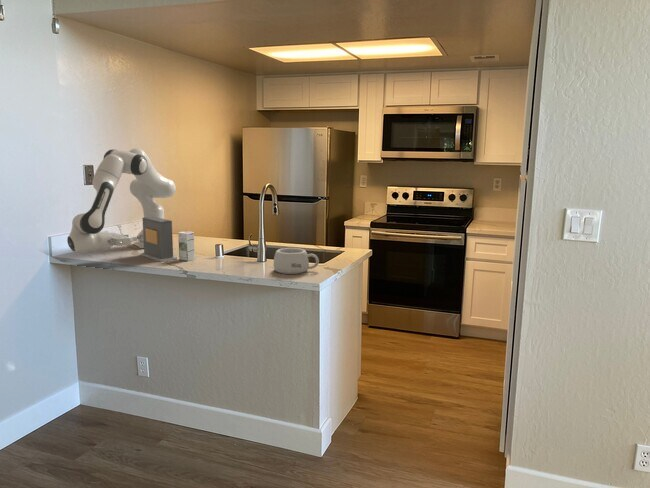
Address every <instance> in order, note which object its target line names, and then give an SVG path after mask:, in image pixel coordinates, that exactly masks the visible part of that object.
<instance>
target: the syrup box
mask: <svg viewBox="0 0 650 488" xmlns="http://www.w3.org/2000/svg"><path fill="white" fill-rule="evenodd" d="M177 235H178V254H179V255H178V257H179V259H178V260H179V261H185V262H190V261H193V260H195V259H196V258H195V257H196V256H195V232H194V231H187V230H182V231H180V232H179V231H178V232H177Z"/></svg>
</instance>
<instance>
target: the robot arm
mask: <svg viewBox="0 0 650 488" xmlns="http://www.w3.org/2000/svg"><path fill="white" fill-rule="evenodd" d="M122 174H128V175H133V176H134V179H132V181H131V182H130V183H129V191H130V193H131V195H132V196H133V197H135V198H136V199H137V200H138V202H139V203H140V204H141V207H142V212H143V218H145V217H157V218H161V219H165V210H164V207H163V206H162V205H161V204H159V203H157V202H156V200H155V199H165V198H170V197H173V196H174V195H175V193H176V190H177V187H176V184H175V181H173V180H172V179H169V178H167V177H165V176H164V175H162V174H160V172H158V171H157V170H156V168H155V167H154V165H153V163H152V160H151V159H150V158H149V156H148V155H147V153H146V152H145V151H144V150H143V149H142V148H137V147H136V148H132V149H130V150H128V151H125V150H118V149H109V150H108V151H106V152H105V153H104V155H103V159H102V160H101V162H100V164H99V165H98V167H97V169H96V171H95V173H94V175H93V179H92V182H91V183H92V186H93V188H94V189H95V190H96V195H95V198H94V200H93V202H92V204H91V207H90V209H88V211H87V212H84V213H80V214H79V213H78V214H77V215H76V216H75V217H74V218H73V219H72V226H71V231H70V233H69V235H68V236H67V237H66V238H67V240H66V241H67V245H68V247H69V248H70V250H71V251H72V252H75V253H88V252H92V251H104V250H110V249H111V248H112V247H113V246H115V247H118V246H119V247H121V246H123V247H124V246H130V245H132V243H133V245H135V246H136V247H138V248H139V249H144V239H143V228H141V231H140V232H139V233H138V234H137V235H136V236H133V237H130V236H129V234H119V233H116V232H109V231H108V230H103V229H104V227H105V219H106V217H105V216H106V213H107V210H108V207H109V204H110V202H111V199H112V197H113V194H114V192H115V190H116V188H117V186H118V184H119V182H120V179H121V177H122Z"/></svg>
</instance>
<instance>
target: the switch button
mask: <svg viewBox="0 0 650 488" xmlns="http://www.w3.org/2000/svg"><path fill="white" fill-rule="evenodd" d="M145 231H146V242H150V243H153V244H157V245H158V230H154V229H150V228H145Z"/></svg>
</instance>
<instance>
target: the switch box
mask: <svg viewBox="0 0 650 488" xmlns="http://www.w3.org/2000/svg"><path fill="white" fill-rule="evenodd" d="M145 228H150V229H154V230H158V245H157V244H153V243H150V242H146V231H145ZM142 229H143V239H144V248H143V252H141V253H140V256H143V257H146V258H149V259H151V260H154V261H157V262H160V263H163V262H169V261H175V260H177V259H178V257H177V256H175V255H174V246H173V245H174V243H173V242H174V240H173V239H174V238H173V221H172V220H169V219H165V218H164V219H161V218H157V217H145V218H144V217H142Z"/></svg>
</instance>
